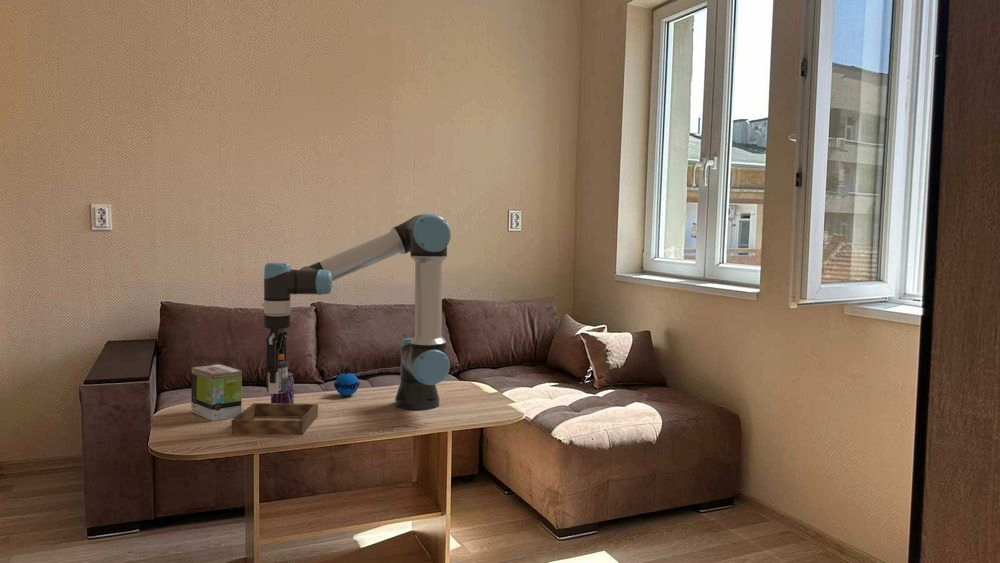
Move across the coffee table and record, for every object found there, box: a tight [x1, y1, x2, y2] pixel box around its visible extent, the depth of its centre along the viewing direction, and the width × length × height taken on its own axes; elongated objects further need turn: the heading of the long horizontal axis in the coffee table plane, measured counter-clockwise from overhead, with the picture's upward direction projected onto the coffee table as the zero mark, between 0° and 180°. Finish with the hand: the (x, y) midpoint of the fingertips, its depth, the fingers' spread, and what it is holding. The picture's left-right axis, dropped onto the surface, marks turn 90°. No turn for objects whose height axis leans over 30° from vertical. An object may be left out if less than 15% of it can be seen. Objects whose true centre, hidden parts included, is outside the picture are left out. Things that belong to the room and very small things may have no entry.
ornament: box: [333, 367, 360, 397], centre depth 248 cm, size 9×9×10 cm
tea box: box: [190, 363, 243, 422], centre depth 219 cm, size 15×10×15 cm, turn 47°
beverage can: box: [270, 372, 295, 404], centre depth 226 cm, size 7×7×12 cm
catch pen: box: [231, 402, 319, 436], centre depth 210 cm, size 20×20×4 cm
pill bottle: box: [266, 354, 288, 393], centre depth 209 cm, size 6×6×11 cm
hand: (276, 390), depth 209 cm, fingers closed on pill bottle, 6 cm apart
